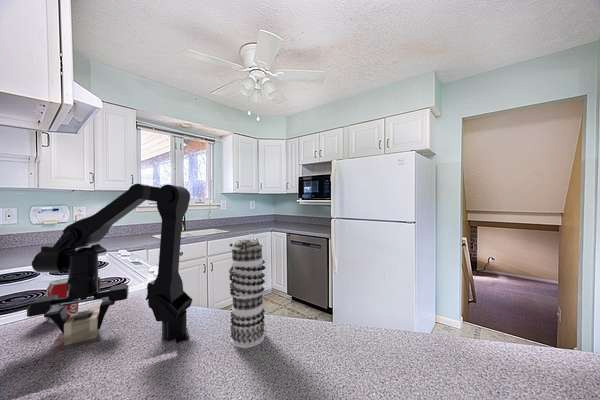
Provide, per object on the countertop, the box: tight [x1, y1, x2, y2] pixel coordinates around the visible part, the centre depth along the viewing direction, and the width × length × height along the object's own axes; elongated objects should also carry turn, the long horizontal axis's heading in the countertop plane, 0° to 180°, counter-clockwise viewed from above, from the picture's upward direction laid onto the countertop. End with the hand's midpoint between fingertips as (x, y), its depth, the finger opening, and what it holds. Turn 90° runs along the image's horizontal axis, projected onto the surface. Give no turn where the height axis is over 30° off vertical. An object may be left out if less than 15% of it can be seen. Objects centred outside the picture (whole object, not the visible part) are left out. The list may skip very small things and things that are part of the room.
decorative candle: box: [228, 239, 266, 349], centre depth 61 cm, size 9×9×25 cm
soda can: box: [45, 277, 79, 324], centre depth 73 cm, size 7×7×12 cm
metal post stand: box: [45, 310, 114, 356], centre depth 62 cm, size 11×11×7 cm
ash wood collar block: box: [64, 309, 100, 345], centre depth 62 cm, size 6×6×5 cm
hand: (83, 332), depth 62 cm, fingers closed on ash wood collar block, 6 cm apart
